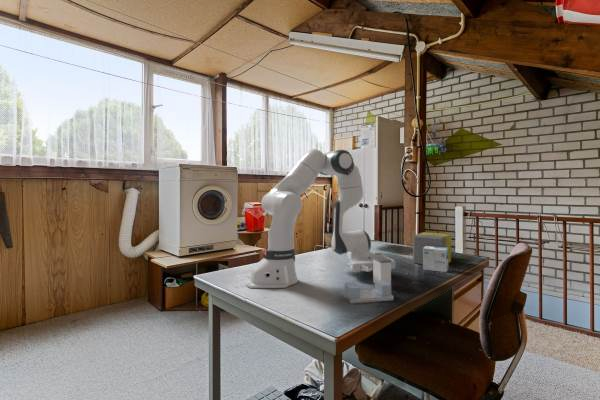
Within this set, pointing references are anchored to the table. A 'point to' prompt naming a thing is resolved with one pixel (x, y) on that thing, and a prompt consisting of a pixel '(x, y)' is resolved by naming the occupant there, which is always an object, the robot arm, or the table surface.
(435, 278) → the table surface
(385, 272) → the block
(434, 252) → the light bulb box
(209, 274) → the table surface
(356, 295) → the mounted modules
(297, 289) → the table surface
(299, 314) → the table surface
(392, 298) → the grey flat base plate
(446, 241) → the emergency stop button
